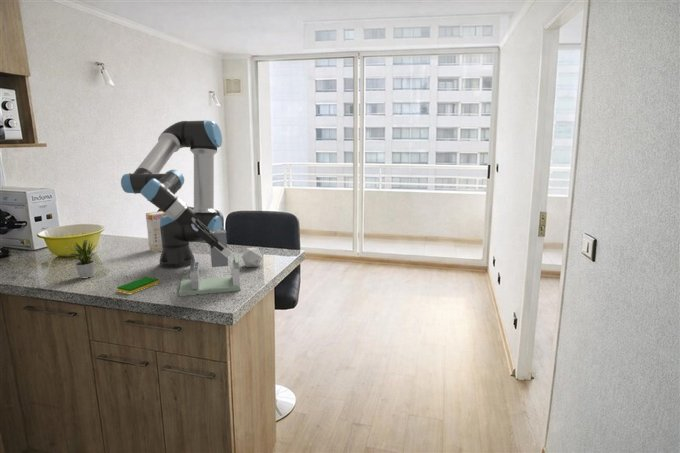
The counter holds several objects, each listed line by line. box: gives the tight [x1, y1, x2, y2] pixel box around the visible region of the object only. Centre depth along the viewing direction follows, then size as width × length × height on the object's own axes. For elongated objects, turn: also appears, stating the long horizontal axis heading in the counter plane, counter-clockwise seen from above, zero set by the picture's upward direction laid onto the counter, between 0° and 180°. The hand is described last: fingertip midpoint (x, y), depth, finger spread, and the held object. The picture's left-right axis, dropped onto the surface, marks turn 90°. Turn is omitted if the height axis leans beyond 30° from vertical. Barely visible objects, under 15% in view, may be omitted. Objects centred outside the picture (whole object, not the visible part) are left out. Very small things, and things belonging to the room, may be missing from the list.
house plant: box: [65, 238, 98, 279], centre depth 185 cm, size 14×14×16 cm
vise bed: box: [178, 253, 241, 297], centre depth 171 cm, size 14×22×11 cm, turn 105°
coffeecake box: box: [145, 210, 166, 253], centre depth 229 cm, size 15×7×20 cm, turn 133°
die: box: [241, 247, 263, 268], centre depth 198 cm, size 8×9×10 cm
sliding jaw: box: [189, 258, 201, 290], centre depth 169 cm, size 13×2×8 cm, turn 15°
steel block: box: [209, 229, 229, 268], centre depth 169 cm, size 6×6×13 cm
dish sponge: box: [116, 276, 160, 293], centre depth 172 cm, size 7×14×2 cm, turn 155°
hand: (229, 252), depth 170 cm, fingers closed on steel block, 6 cm apart
